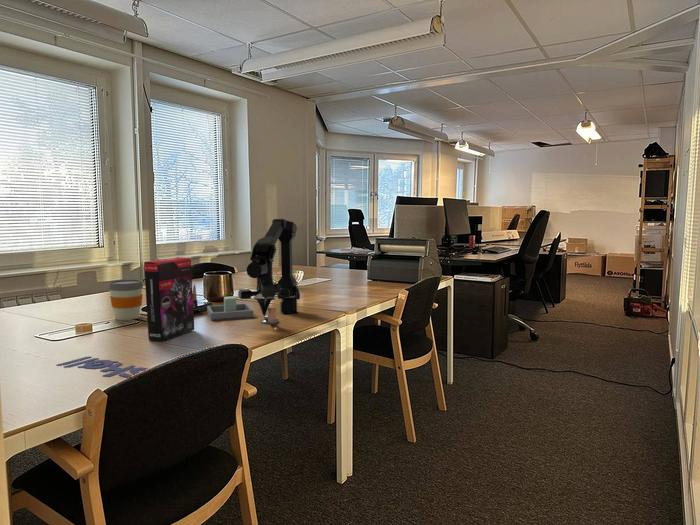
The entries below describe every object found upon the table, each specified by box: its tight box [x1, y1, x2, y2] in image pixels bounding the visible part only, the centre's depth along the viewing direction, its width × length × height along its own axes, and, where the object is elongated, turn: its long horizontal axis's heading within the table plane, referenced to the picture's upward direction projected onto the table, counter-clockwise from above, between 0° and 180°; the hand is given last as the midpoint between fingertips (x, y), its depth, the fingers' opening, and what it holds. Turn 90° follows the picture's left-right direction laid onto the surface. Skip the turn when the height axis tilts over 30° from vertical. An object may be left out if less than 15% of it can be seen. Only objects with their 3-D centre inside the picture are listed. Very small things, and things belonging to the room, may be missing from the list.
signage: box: [55, 355, 149, 379], centre depth 135 cm, size 28×1×10 cm
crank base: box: [260, 318, 279, 331], centre depth 187 cm, size 7×16×1 cm, turn 22°
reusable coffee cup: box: [108, 279, 144, 321], centre depth 196 cm, size 13×13×15 cm
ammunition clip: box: [192, 283, 199, 308], centre depth 206 cm, size 11×2×12 cm, turn 143°
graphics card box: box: [143, 256, 195, 342], centre depth 169 cm, size 17×7×27 cm, turn 159°
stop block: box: [223, 295, 237, 312], centre depth 203 cm, size 4×4×7 cm
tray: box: [206, 302, 254, 322], centre depth 203 cm, size 17×16×3 cm
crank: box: [263, 306, 277, 325], centre depth 187 cm, size 12×4×6 cm, turn 17°
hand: (264, 315), depth 182 cm, fingers closed
